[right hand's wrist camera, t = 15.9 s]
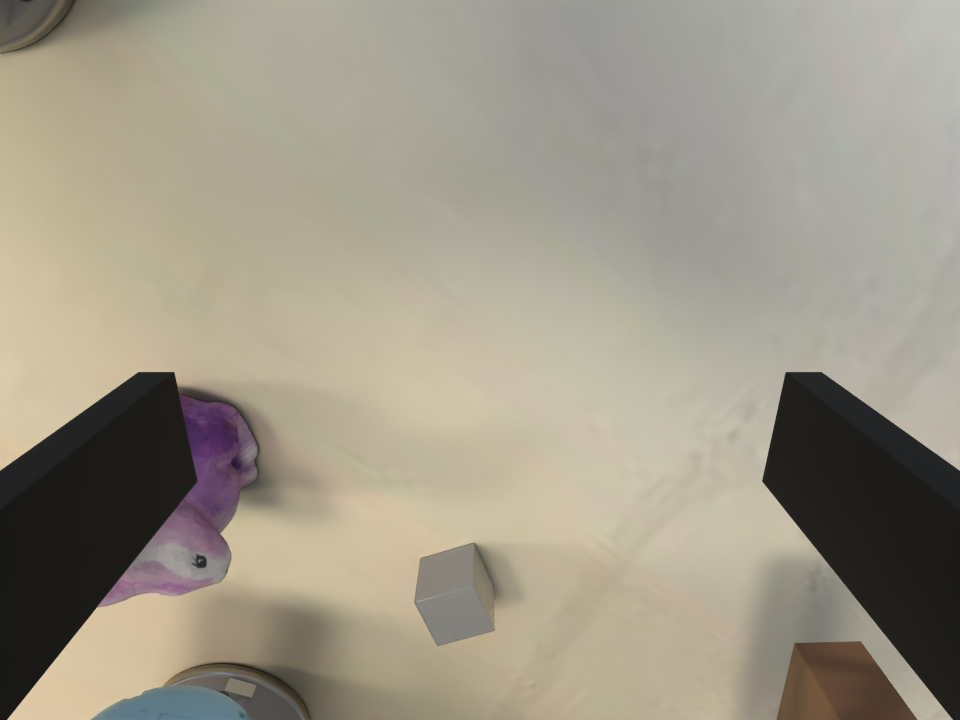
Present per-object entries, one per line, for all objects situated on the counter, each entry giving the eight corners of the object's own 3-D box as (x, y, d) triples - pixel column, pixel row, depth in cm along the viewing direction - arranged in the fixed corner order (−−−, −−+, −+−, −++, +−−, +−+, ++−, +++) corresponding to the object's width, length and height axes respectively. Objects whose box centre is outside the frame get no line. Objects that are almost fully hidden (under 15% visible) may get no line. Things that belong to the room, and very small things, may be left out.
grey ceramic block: (441, 600, 52) (437, 646, 47) (420, 558, 50) (413, 602, 45) (493, 585, 51) (494, 631, 46) (474, 542, 49) (473, 585, 45)
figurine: (273, 504, 48) (187, 660, 34) (146, 480, 47) (5, 630, 33) (285, 404, 44) (195, 531, 30) (149, 377, 43) (-8, 494, 29)
